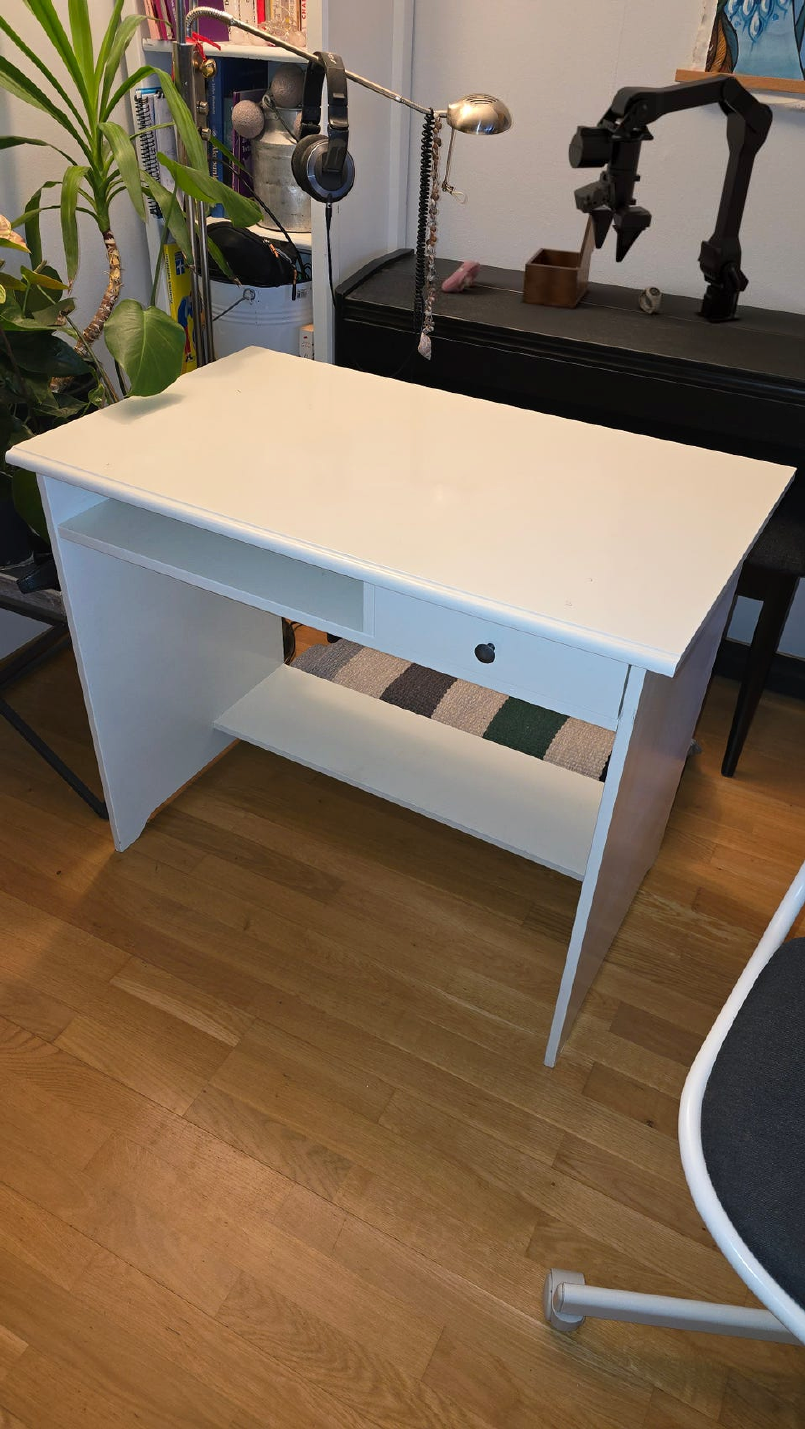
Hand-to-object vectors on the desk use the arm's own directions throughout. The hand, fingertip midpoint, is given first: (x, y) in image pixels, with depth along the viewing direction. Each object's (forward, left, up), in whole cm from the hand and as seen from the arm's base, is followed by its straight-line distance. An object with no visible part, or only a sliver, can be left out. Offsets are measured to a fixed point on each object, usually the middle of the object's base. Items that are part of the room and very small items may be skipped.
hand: (608, 255), depth 195 cm
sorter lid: (-5, -18, 0) cm, 19 cm away
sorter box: (0, -22, -15) cm, 26 cm away
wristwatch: (-16, -7, -15) cm, 23 cm away
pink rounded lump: (+17, -34, -15) cm, 41 cm away
